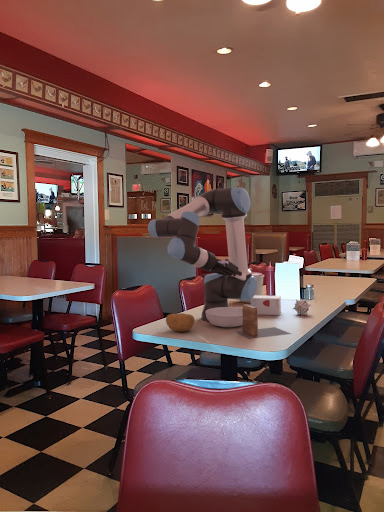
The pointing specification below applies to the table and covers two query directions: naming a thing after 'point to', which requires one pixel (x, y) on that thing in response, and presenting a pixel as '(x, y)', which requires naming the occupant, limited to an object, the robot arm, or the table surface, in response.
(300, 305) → the game die
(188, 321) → the potato
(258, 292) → the canister
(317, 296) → the table surface
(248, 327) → the wooden block
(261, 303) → the supplement box
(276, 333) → the rubber mat
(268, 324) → the table surface
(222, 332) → the table surface
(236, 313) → the serving bowl
